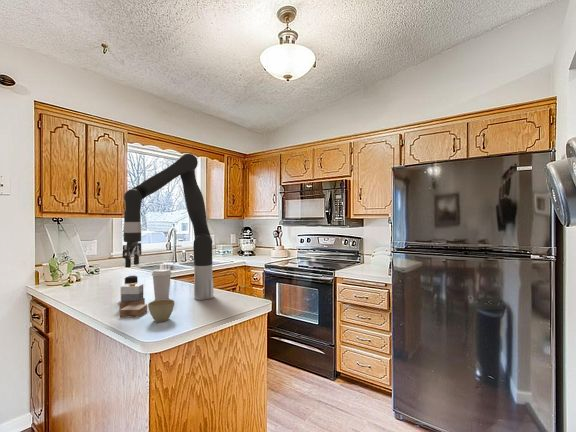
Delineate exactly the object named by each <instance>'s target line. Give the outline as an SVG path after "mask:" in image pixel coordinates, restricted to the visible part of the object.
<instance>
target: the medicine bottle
mask: <svg viewBox="0 0 576 432" xmlns="http://www.w3.org/2000/svg"><path fill="white" fill-rule="evenodd" d="M138 279H139V278H138V276H137V275H127V276H125V277H124V284H123V285H126V284H131V283H135V284H139V283H138ZM119 289H120V294H121V287H120V288H119Z"/></svg>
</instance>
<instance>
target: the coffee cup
mask: <svg viewBox="0 0 576 432" xmlns="http://www.w3.org/2000/svg"><path fill="white" fill-rule="evenodd" d="M171 275H172V271H171V269H170V268H158V269H157V268H156V269H153V271H152V273H151V276H152V281H153V291H154V301H156V300H164V299H169V297H170V286H171V277H172V276H171ZM169 300H170V299H169Z"/></svg>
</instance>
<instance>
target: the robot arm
mask: <svg viewBox="0 0 576 432" xmlns="http://www.w3.org/2000/svg"><path fill="white" fill-rule="evenodd" d="M198 164H199V162H198V159H197V157H196V155H194V154H191V153H184V154H182V155H181V156H180V157H179V158H178V159H177V160H176V161H175V162H173V163H172V164H171V165H169V166H167V167H166V168H165V169H162V170H161V171H159V172H158V173H155V174H153V175H152V176H150V177H148V178H147V179H145V180H144V181H142V182H141V183H140V184H138V185H136V186H134V187H133V188H131V189H128V190H127V191H125V193H124V194H123V199H124V200H123V201H124V206H125V208H124V213H123V214H124V215H123V219H124V220H123V242H124V243H126V244H123V245H122V258H123V259H124V260H125V261H124V265H125V268H131V267H132V256H133V265H135V266H138V265H140V256H141V255H142V243H141V242H142V222H141V221H142V220H141V219H142V217H141V216H142V215H141V214H142V213H141V208H142V200H144V199H146V198H147V197H148V196H151V195H152V194H154V193H156V192H158V191H159V190H161V189H162V188H163V187H165V186H167V185H168V184H169V183H170V182H172V181H173V180H174V179H176V178H177V177H179V176H180V180H181V182H182V187H183V189H182V190H183V194H184V202H185V205H186V206H185V207H186V211H187V213H188V217H189V220H190V222H191V224H192V228H193V235H194V240H193V244H192V245H193V272H194V273H193V274H194V276H193V285H194V287H193V292H194V293H193V295H194V297H193V298H194V300H196V301H201V300H202V301H203V300H204V301H205V300H212V299H213V297H214V278H213V239H212V236H211V233H210V230H209V227H208V222H207V221H208V220H207V211H206V210H207V209H206V205H205V199H204V196H203V193H202V191H201V189H200V186H199V185H198V182H197V179H196V168H197V167H198Z"/></svg>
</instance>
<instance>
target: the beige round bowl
mask: <svg viewBox="0 0 576 432" xmlns="http://www.w3.org/2000/svg"><path fill="white" fill-rule="evenodd" d="M174 307H175V300H173V299H164V300H153V301H150V302H148V304H147V308H148V311H149V313H150V316H151V317H152V318H153V320H154V322H156V323H163V322H166V321H168V320H169V319H170V317H171V315H172V314H173V311H174Z"/></svg>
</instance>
